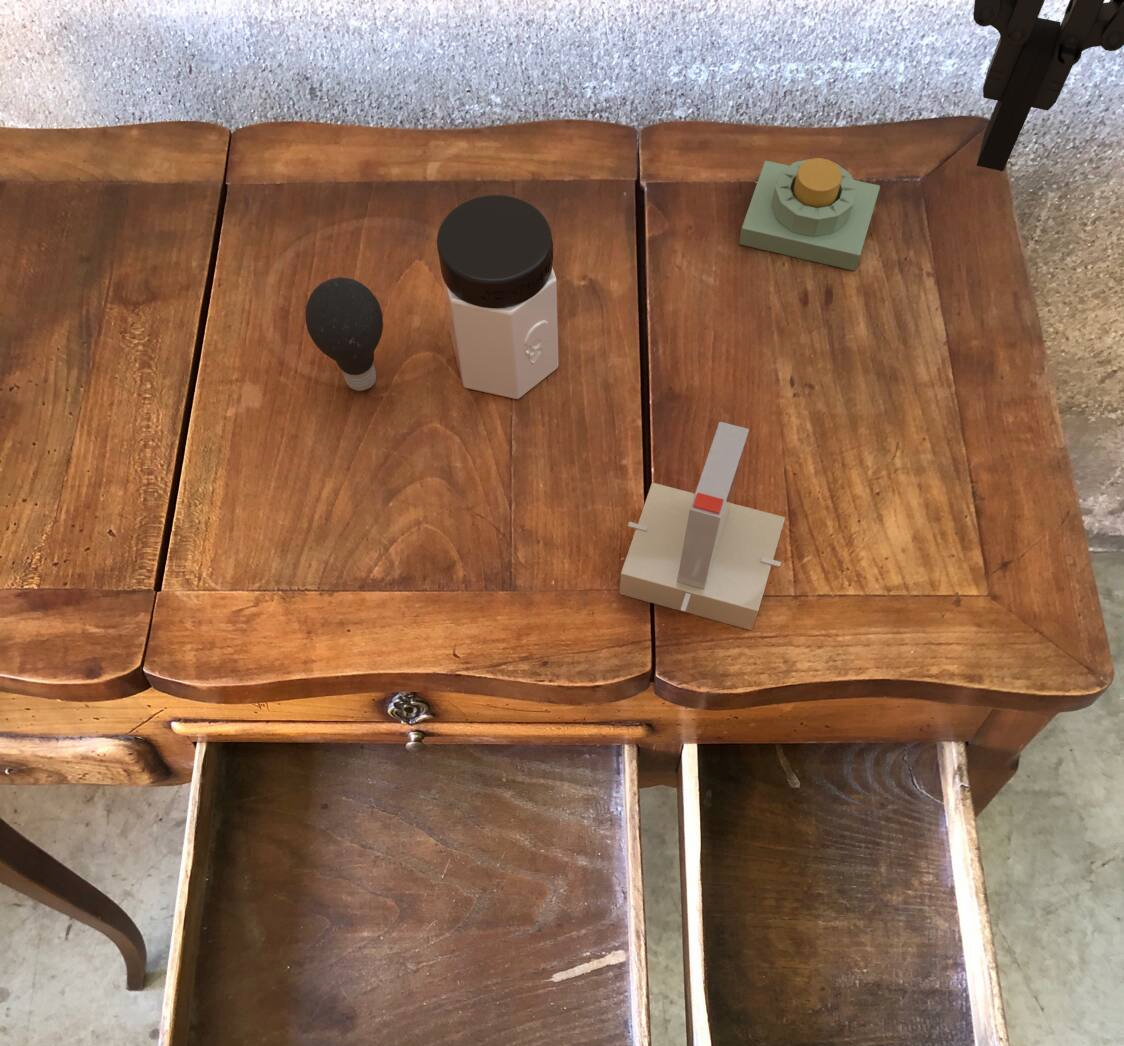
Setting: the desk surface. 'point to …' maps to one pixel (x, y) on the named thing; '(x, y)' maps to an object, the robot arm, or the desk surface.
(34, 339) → the desk surface
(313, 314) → the light bulb
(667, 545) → the panel
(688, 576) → the tap handle
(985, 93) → the robot arm
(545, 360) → the jar
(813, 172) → the button
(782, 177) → the button block
